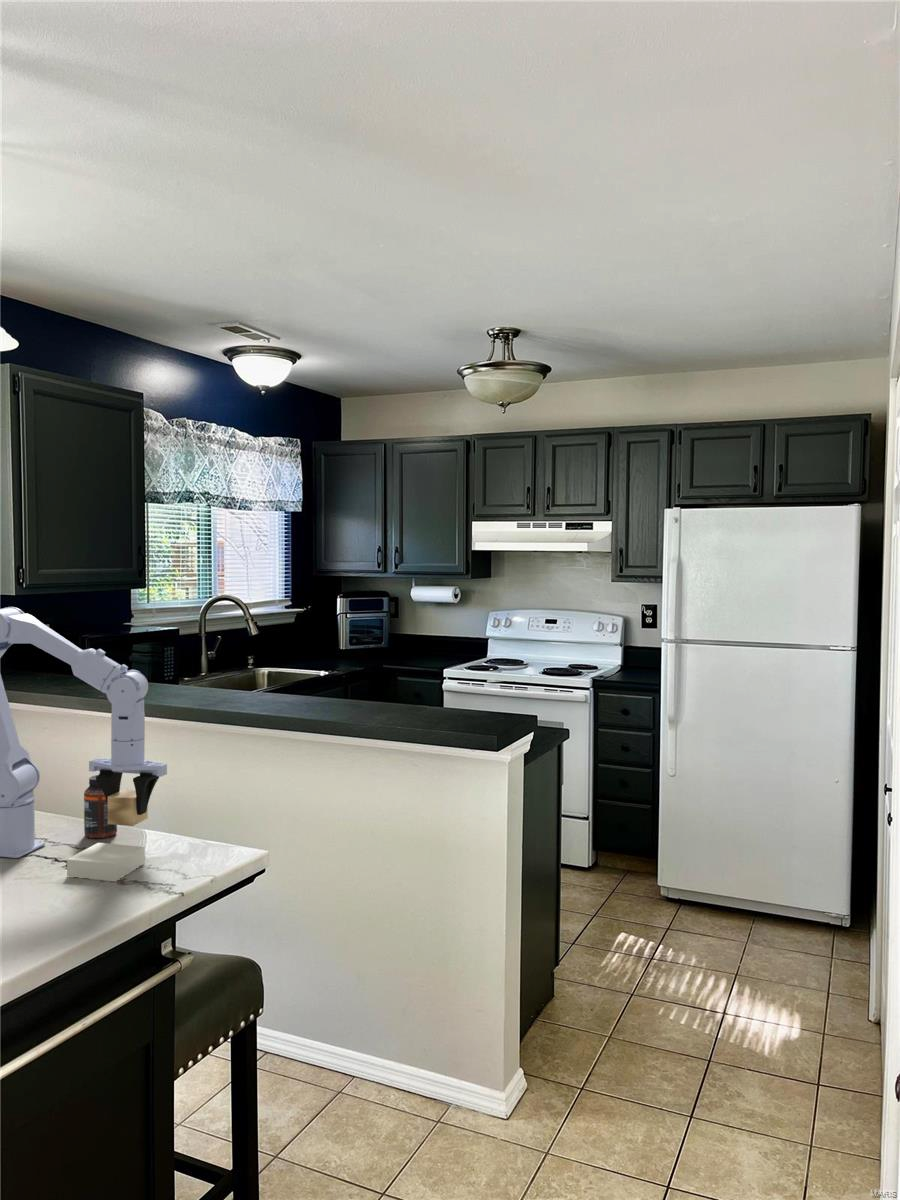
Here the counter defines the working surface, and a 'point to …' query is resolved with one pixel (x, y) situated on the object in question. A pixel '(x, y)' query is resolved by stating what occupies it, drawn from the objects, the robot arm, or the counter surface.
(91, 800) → the supplement bottle
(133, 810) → the oak block
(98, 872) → the base block
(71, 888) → the counter surface
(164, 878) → the counter surface
